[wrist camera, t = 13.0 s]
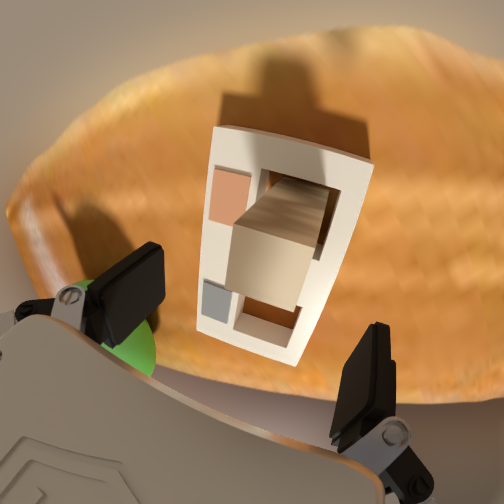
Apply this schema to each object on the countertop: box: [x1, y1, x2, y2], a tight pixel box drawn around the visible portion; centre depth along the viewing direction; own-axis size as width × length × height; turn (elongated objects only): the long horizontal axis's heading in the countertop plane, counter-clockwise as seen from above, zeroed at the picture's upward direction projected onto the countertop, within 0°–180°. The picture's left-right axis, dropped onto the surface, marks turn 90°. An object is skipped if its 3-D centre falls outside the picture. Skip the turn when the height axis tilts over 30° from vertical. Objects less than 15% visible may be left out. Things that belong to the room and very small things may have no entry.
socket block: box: [197, 125, 374, 367], centre depth 24 cm, size 12×22×3 cm, turn 170°
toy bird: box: [72, 280, 156, 377], centre depth 33 cm, size 18×17×15 cm
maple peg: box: [224, 177, 329, 312], centre depth 18 cm, size 4×4×11 cm
